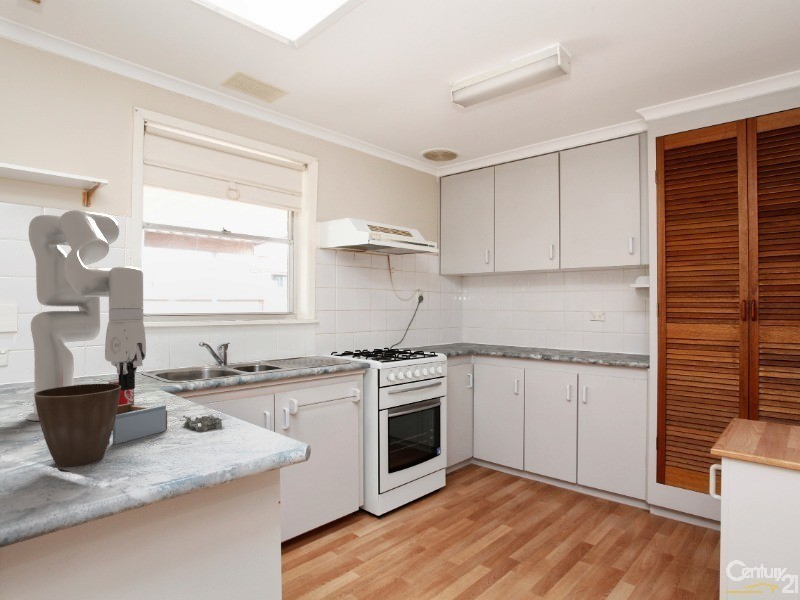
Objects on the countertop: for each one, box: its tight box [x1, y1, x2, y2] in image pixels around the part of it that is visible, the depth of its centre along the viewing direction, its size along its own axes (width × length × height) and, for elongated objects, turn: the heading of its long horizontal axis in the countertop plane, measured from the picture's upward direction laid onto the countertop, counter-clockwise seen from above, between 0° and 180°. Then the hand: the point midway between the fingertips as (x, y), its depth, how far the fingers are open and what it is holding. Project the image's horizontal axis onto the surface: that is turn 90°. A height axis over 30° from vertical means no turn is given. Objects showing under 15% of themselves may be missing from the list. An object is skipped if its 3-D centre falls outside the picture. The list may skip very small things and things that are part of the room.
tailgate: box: [112, 404, 167, 445], centre depth 116 cm, size 1×13×6 cm, turn 153°
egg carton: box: [182, 414, 224, 432], centre depth 126 cm, size 11×8×4 cm
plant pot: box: [33, 383, 121, 473], centre depth 98 cm, size 15×15×16 cm
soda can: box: [107, 378, 135, 405], centre depth 136 cm, size 7×7×12 cm
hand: (126, 389), depth 118 cm, fingers closed
